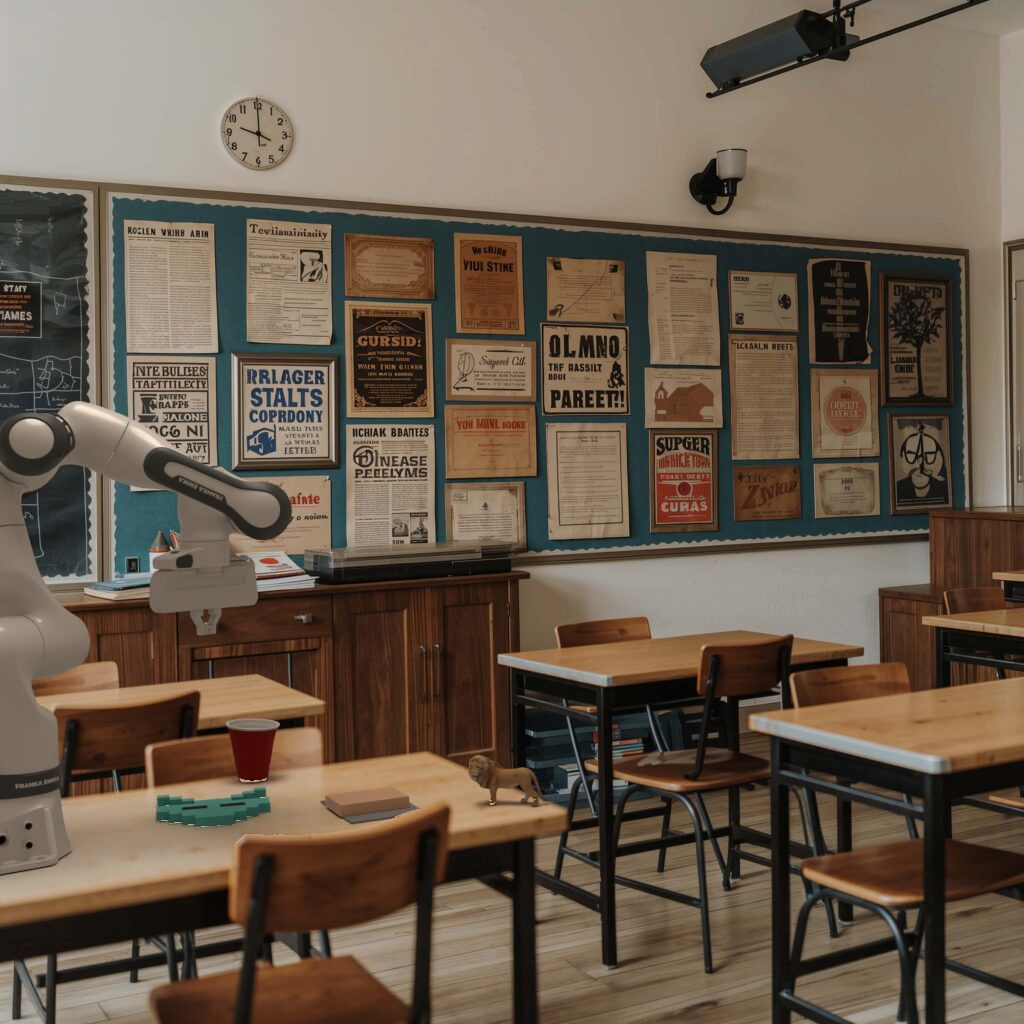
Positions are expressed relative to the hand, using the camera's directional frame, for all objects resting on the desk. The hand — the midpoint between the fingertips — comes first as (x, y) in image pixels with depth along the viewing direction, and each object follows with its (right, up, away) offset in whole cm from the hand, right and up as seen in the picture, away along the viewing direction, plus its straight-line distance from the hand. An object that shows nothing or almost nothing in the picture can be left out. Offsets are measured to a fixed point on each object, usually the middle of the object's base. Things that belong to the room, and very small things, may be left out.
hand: (206, 634), depth 219 cm
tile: (+22, -31, +3) cm, 38 cm away
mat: (+29, -32, +6) cm, 44 cm away
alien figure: (0, -34, +5) cm, 34 cm away
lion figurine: (+53, -32, +7) cm, 63 cm away
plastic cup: (+2, -33, +31) cm, 46 cm away
